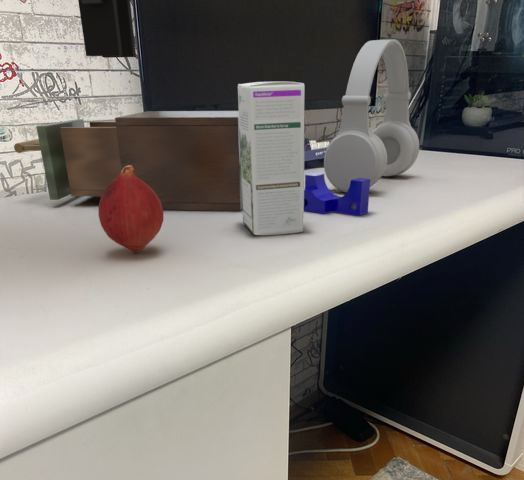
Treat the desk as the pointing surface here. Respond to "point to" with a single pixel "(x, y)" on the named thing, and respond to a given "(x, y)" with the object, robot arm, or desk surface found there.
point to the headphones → (357, 122)
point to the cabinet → (185, 157)
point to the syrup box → (272, 156)
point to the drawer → (76, 156)
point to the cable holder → (335, 196)
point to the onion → (130, 211)
